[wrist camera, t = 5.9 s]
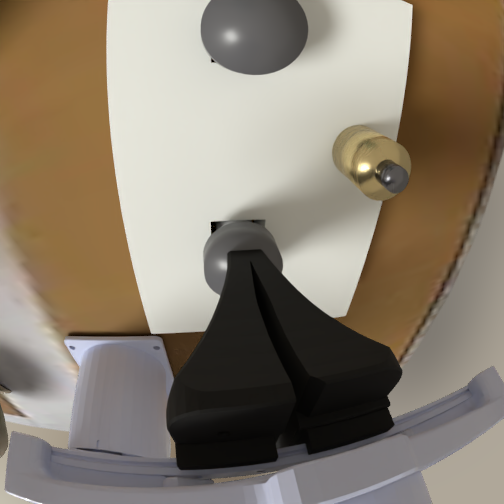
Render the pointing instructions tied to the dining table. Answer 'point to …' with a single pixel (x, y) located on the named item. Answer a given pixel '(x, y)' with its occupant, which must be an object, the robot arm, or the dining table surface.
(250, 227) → the knob
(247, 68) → the knob
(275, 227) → the mount block
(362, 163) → the gold domed cylinder
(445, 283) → the dining table surface
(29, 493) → the robot arm
